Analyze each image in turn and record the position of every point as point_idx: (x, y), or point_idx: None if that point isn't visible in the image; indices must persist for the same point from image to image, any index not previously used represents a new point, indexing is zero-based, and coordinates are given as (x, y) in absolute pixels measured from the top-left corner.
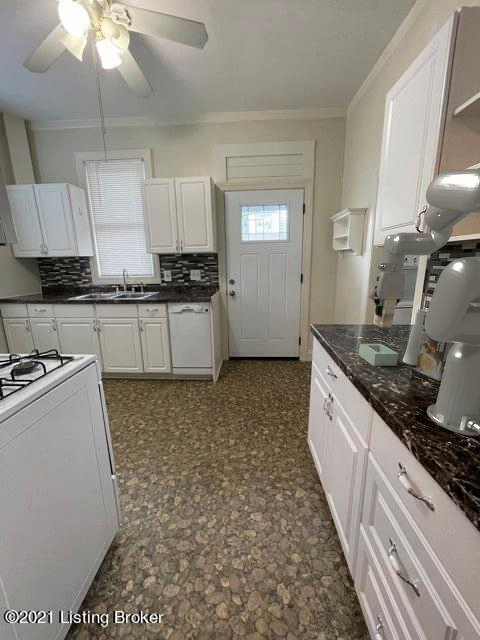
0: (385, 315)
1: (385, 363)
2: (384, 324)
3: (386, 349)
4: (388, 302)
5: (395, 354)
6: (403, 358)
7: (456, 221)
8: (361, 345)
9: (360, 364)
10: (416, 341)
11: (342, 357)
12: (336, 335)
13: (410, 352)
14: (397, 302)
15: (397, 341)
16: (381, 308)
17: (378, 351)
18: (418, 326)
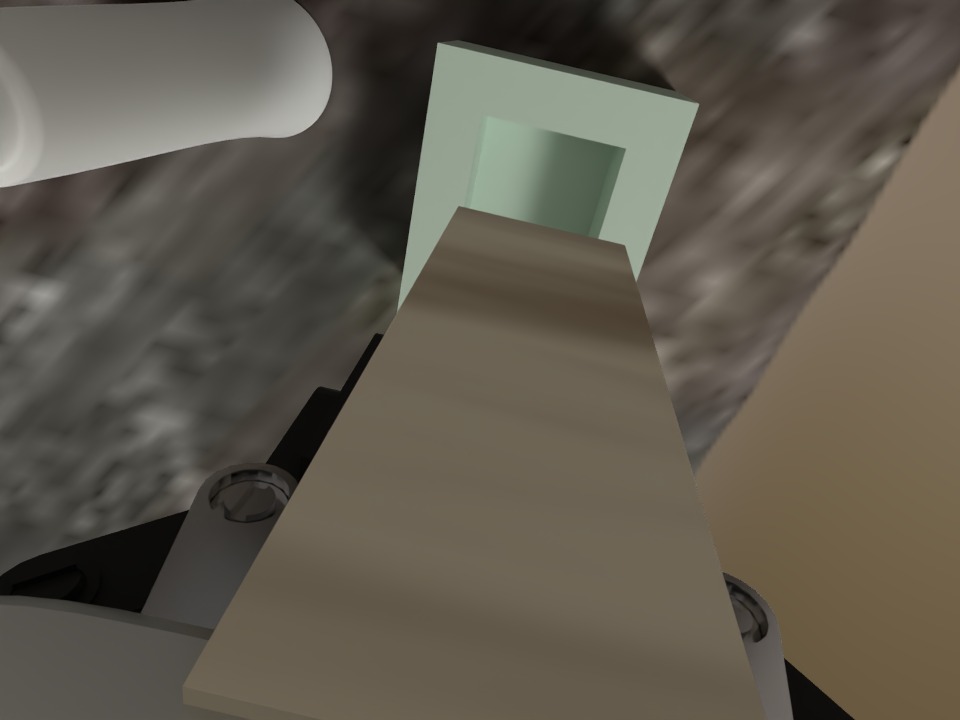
0: (613, 326)
1: (566, 66)
2: (592, 253)
3: (466, 184)
4: (623, 548)
5: (471, 50)
6: (311, 113)
7: None
8: None
9: (764, 152)
10: (165, 22)
11: (779, 320)
12: None
13: (268, 51)
14: (118, 552)
15: (75, 452)
16: None
17: None
18: (10, 43)
